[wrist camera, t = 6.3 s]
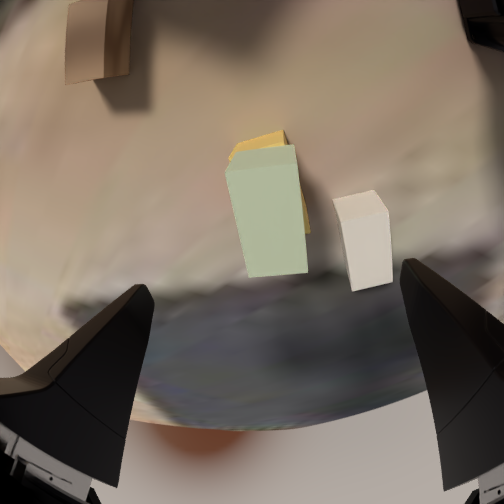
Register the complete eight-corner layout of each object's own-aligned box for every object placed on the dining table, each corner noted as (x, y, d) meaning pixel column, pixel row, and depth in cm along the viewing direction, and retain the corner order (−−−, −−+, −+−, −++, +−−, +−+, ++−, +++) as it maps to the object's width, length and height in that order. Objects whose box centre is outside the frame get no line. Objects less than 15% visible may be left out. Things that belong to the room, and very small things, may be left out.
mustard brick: (237, 143, 18) (228, 157, 16) (283, 129, 18) (283, 141, 15) (264, 218, 22) (262, 244, 19) (306, 208, 21) (310, 232, 18)
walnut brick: (97, 8, 12) (68, 4, 10) (134, -1, 12) (109, -10, 9) (94, 79, 16) (65, 85, 13) (130, 74, 16) (103, 77, 13)
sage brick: (235, 151, 15) (224, 172, 13) (293, 144, 15) (297, 163, 12) (254, 242, 19) (249, 277, 16) (304, 237, 18) (308, 272, 15)
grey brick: (332, 198, 20) (340, 222, 17) (373, 189, 19) (388, 211, 16) (344, 262, 23) (352, 291, 20) (380, 254, 22) (392, 282, 20)
